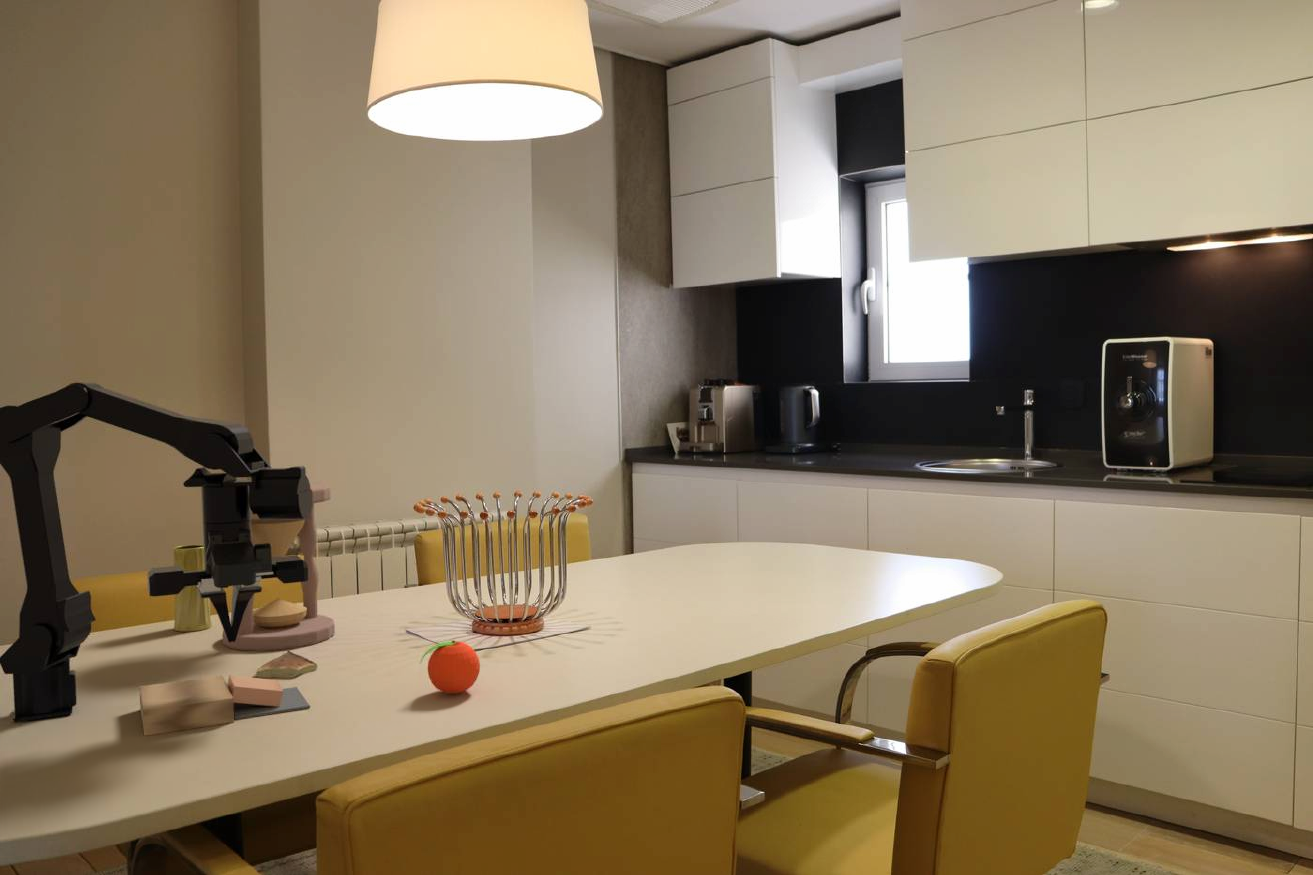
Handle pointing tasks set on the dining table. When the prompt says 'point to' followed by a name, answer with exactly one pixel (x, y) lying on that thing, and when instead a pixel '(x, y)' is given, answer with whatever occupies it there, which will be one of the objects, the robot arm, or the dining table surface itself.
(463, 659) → the clementine
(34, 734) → the dining table surface
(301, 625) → the hourglass
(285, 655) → the shard
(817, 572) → the dining table surface
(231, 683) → the pink square block
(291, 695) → the mat
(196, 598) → the vase
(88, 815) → the dining table surface
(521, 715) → the dining table surface
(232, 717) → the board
